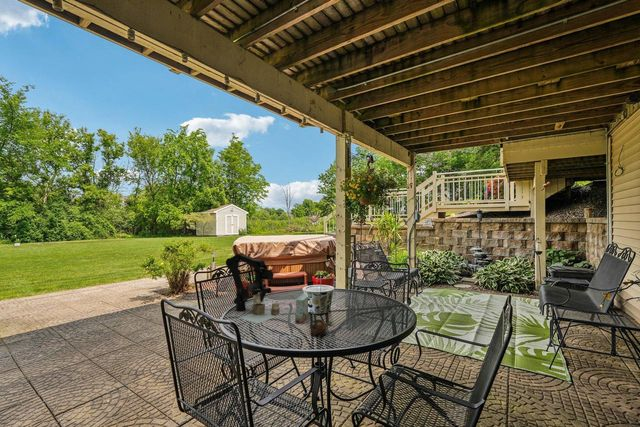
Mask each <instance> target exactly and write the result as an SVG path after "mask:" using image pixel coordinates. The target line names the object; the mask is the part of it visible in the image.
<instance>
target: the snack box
mask: <svg viewBox="0 0 640 427" xmlns="http://www.w3.org/2000/svg"><path fill="white" fill-rule="evenodd" d="M309 315H310V314H309V312H308V297H307V296H306V295H304V292H303V293H301V294H300V296H299V297H297V298H296V300H295V318H294V319H295V320H294V323H295V324H303V323H304V322H305V321H306V320H307V318H309Z"/></svg>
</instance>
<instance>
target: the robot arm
mask: <svg viewBox="0 0 640 427" xmlns="http://www.w3.org/2000/svg"><path fill="white" fill-rule="evenodd" d="M240 261H242V262H243V263H246V264H248V265H251V267H252V268H253V269H252V270H251V272H254V279H253V281H252V283H250V284H248V285H246V288H245V287H244V284H243V280H242V277H241V275H240V271H239V269H238V268H239V265H240V264H239V262H240ZM225 265H226V267H227V268H228V270H229V271H230V273H231V276H232V279H233V282H234V285H235V289H236V292H235V295H236V297H235V298H234V299H233V304H234V305H235V310H236V312H245V311H246V303H247V302H248V300H249V298H250V293H249V292H251V293H252V295H256V294H260V301H261V302H262V301H263V299H264V300H265V297H266V295H267V294H268V293H272V288H271V287H268V286H266V287H265V285H264V282H265V280H267V281H272V280H273V278H274V273H273V271H272V269H269V268H268V267H267V265H266V263H265V260H263V259H258V258H257V259H256V258H253V257H251V256H248V255H246V254H243V253H240V252H239V253H236V254H235V255H234V256H231V257H229V258H227V259H226V260H225ZM259 291H260V292H259Z"/></svg>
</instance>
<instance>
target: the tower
mask: <svg viewBox="0 0 640 427" xmlns="http://www.w3.org/2000/svg"><path fill="white" fill-rule="evenodd" d="M270 311H271V315H274V316H276V315H279V314H280V302H272V303H271V309H270ZM279 316H280V315H279ZM276 317H277V316H276Z"/></svg>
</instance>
